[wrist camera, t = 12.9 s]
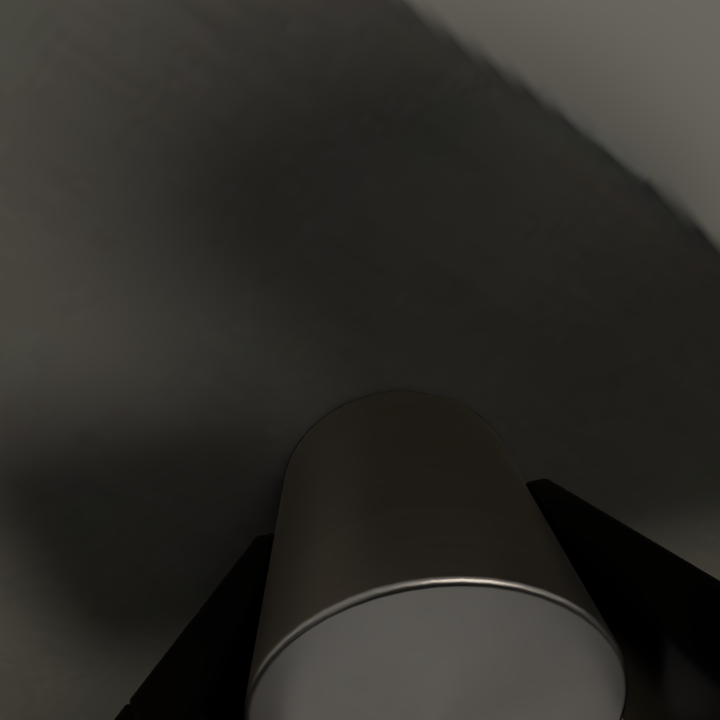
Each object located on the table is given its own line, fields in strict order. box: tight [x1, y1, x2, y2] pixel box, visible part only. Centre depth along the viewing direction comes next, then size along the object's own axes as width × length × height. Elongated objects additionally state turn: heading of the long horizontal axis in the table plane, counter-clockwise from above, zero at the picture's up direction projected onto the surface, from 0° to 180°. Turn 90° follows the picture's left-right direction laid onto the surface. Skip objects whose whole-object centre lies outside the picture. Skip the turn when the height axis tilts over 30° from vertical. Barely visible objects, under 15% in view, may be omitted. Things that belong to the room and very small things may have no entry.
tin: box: [244, 392, 628, 720], centre depth 8 cm, size 5×5×4 cm
